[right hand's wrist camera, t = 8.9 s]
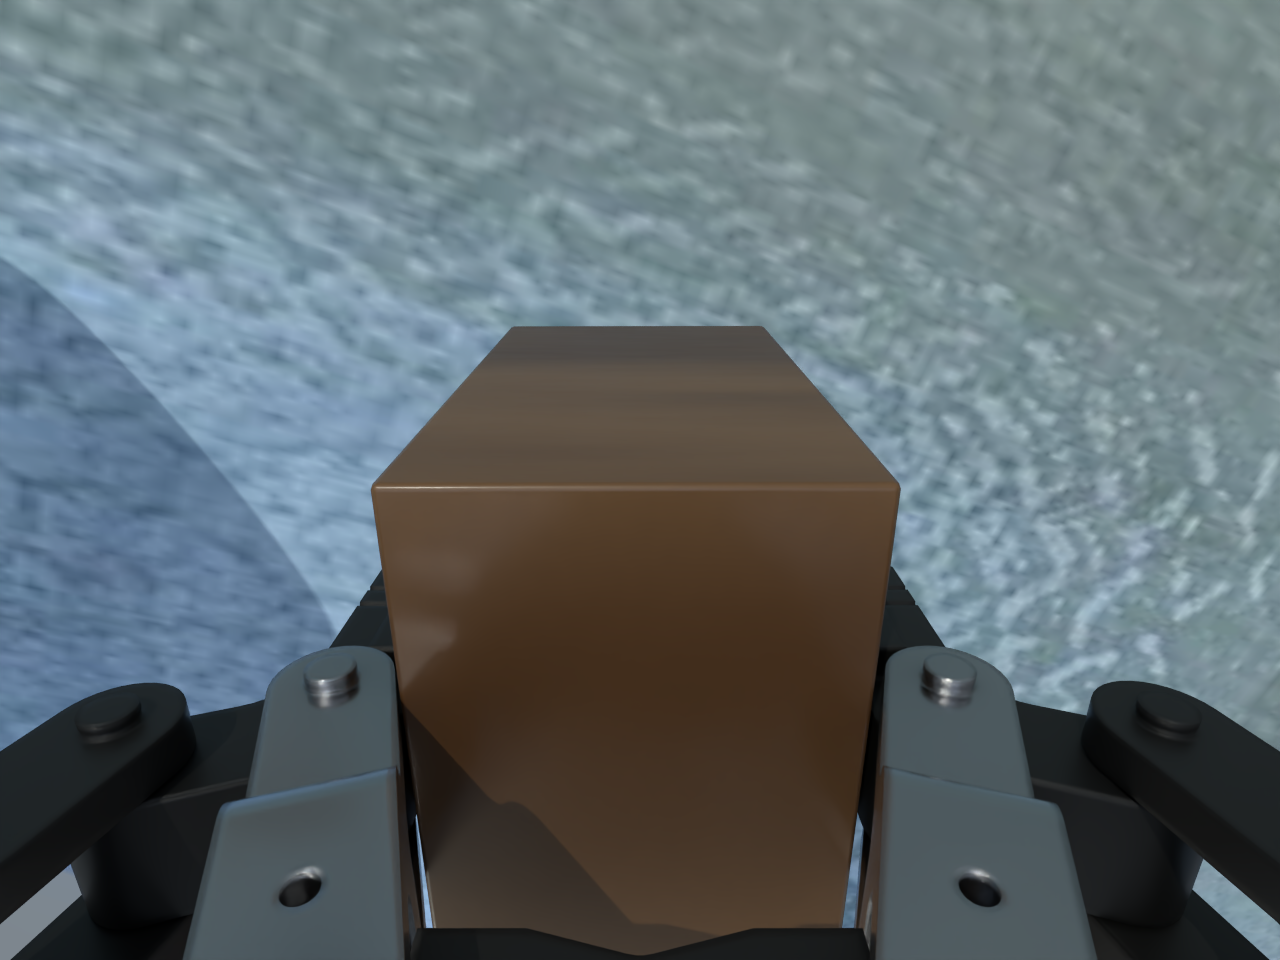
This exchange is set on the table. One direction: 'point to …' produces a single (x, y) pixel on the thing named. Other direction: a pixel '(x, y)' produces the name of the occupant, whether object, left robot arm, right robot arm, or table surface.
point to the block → (636, 636)
